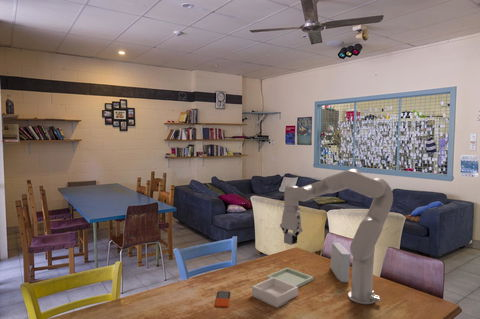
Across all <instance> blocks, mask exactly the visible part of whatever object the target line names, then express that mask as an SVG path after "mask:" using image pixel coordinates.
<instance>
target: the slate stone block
mask: <svg viewBox="0 0 480 319" xmlns="http://www.w3.org/2000/svg"><path fill="white" fill-rule="evenodd" d="M293 236H294V235H293V231H292V232H291V231H288V233H285V234H284V233H283V243H284V244H287V245H290V246H292V245H296V244H297V243H293Z"/></svg>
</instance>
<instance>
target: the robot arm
mask: <svg viewBox="0 0 480 319" xmlns="http://www.w3.org/2000/svg"><path fill="white" fill-rule="evenodd" d="M346 189H347V190H348V189H349V190H351V191H353V192H355V193H358V194H360V195H362V196H365V197H368V198H371V199H372V202H371V205H370V207H369V209H368V211H367V214H366V215H365V217H364V218H363V219H362V220H361V222H360V224H359V225H358V228H357V230H356V233H355V234H354V236H353V239H352V241H351V243H350V245H349V253H350V255H351V256H352V265H351V266H352V268H351V269H352V270H351V290H350V291H349V292H348V293H347V297H348V298H349V300H351V301H353V302H354V303H356V304H360V305H361V304H362V305H372V304H374V303H375V302H377V303H381V297H380V295H377V294H375V290H373V282H374V263H375V262H374V261H375V260H374V259H375V248H376V244H377V242H378V240H379V238H380V236H381V234H382V232H383V229H384V225H385V222H386V220H387V218H388V216H389V213H390V212H391V208H392V206H393V202H394V194H393V190H392V187H391V186H390V184H389V183H388V182H387V181H386V180H385V179H383V178H381V177H374V178H372V177H369V176H366V175H364V174H363V173H362V172H361V171H360V170H359V169H357V168H350V169H347V170H344V171H342V172H339V173H335V174H333V175H330V176H326V177H325V178H323V179H321V180H318V181H315V182H313V183H310V184H306V185H304V186H297V185H294V184H293V185H292V184H290V185H285V187H284V198H283V199H284V202H283V203H284V205H283V207H284V209H283V211H282V216H281V223H280V224H279V227H280V228H281V229H280V230H282V233H283V235H284V234H285V233H288V232H289V231H290V230H291V231H292V233H293V235H294V236H293V243H296V244H298V236H299V234H301V233H302V232H303V229H302V217H301V213H300V209H301V208H300V207H299V201H300V202H308V201H309V200H312V199H313V198H317V197H320V196H323V195H326V194H335V193H337V192H341V191H344V190H346Z"/></svg>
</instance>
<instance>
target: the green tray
mask: <svg viewBox="0 0 480 319" xmlns="http://www.w3.org/2000/svg"><path fill="white" fill-rule="evenodd" d="M272 277H275V278H277V279H280V280H282V281H284V282H287V283H289V284H292V285H294V286H297V287H298V289H299V288H300V287H303V286H305V285H306V284H309V283H311V282H312V281H314V276H312V275H310V274H307V273H303V272H301V271H299V270H295V269H292V268H290V267H285V268H282V269H280V270H278V271H276V272H273V273H271V274H270V273H269V274H268V275H267V276H266V280H267V279H270V278H272Z"/></svg>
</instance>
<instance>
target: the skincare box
mask: <svg viewBox="0 0 480 319" xmlns="http://www.w3.org/2000/svg"><path fill="white" fill-rule="evenodd" d="M329 267H330V270H331V271H332V272H333V274H334V275H335V277H336V279H337V280H338V281H340V283H349V281H350V267H351V252H350V251H348V250H347V248H345V247H344V246H343V244H342V243H341V242H331V253H330V265H329Z"/></svg>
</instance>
